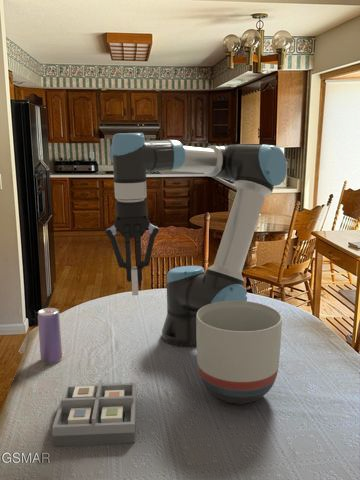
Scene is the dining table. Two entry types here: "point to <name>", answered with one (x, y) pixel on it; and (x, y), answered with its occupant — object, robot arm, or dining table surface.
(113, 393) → the key
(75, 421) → the key
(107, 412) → the key
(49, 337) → the beverage can
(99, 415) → the keypad
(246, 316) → the planter
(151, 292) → the dining table surface
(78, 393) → the key
